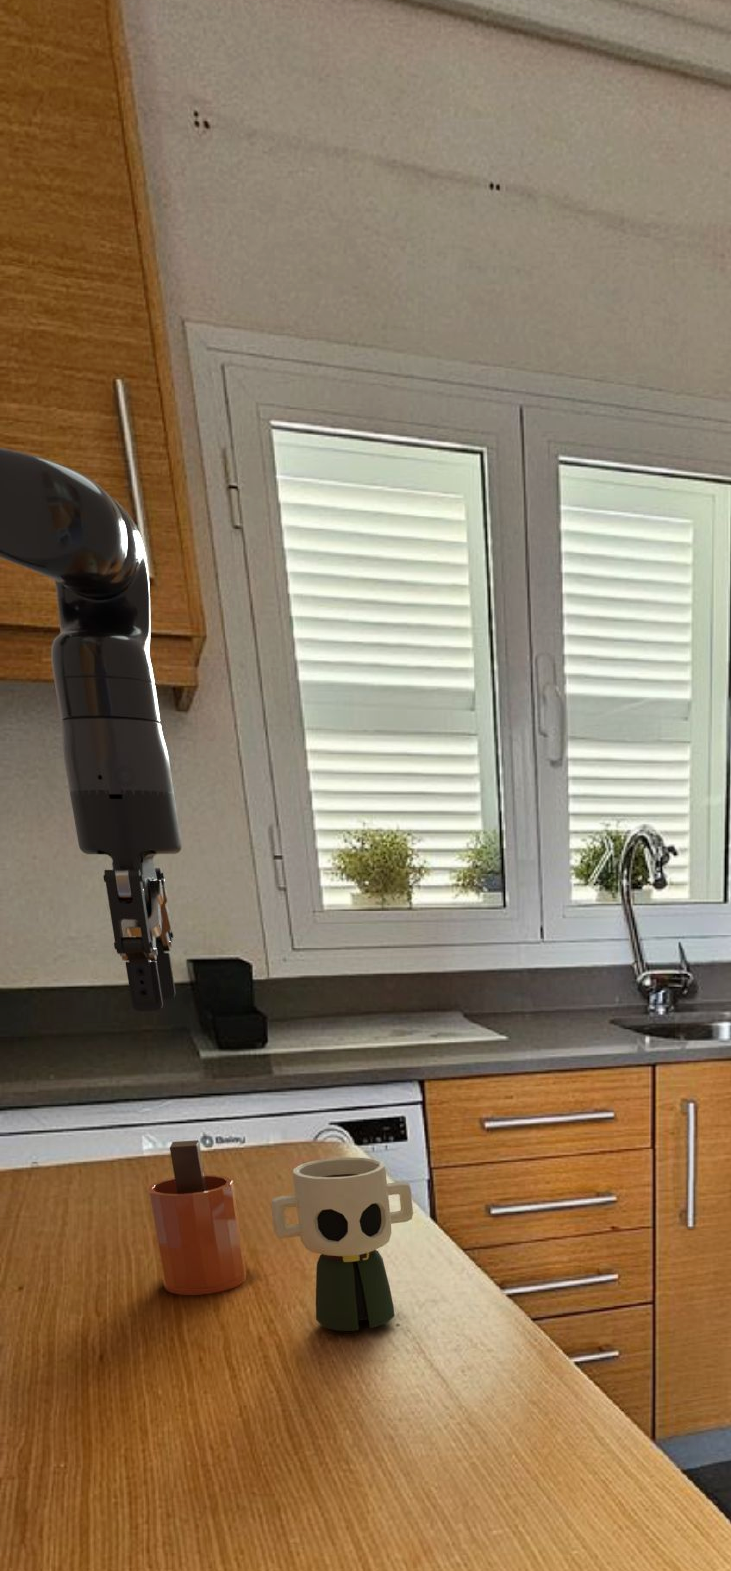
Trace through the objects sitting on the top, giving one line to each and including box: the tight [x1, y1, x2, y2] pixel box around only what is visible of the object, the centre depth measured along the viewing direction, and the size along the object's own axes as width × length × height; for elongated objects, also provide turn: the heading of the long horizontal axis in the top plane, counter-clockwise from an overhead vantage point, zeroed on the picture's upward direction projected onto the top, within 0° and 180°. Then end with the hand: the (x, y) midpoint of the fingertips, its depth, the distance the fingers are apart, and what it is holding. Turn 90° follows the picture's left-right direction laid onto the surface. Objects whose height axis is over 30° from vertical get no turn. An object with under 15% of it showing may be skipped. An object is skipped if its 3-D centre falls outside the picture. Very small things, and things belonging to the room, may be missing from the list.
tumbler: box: [146, 1174, 247, 1296], centre depth 106 cm, size 7×7×9 cm
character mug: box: [270, 1156, 414, 1332], centre depth 95 cm, size 11×7×13 cm, turn 115°
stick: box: [169, 1139, 207, 1194], centre depth 105 cm, size 2×2×12 cm
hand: (155, 1004), depth 99 cm, fingers open, 8 cm apart
